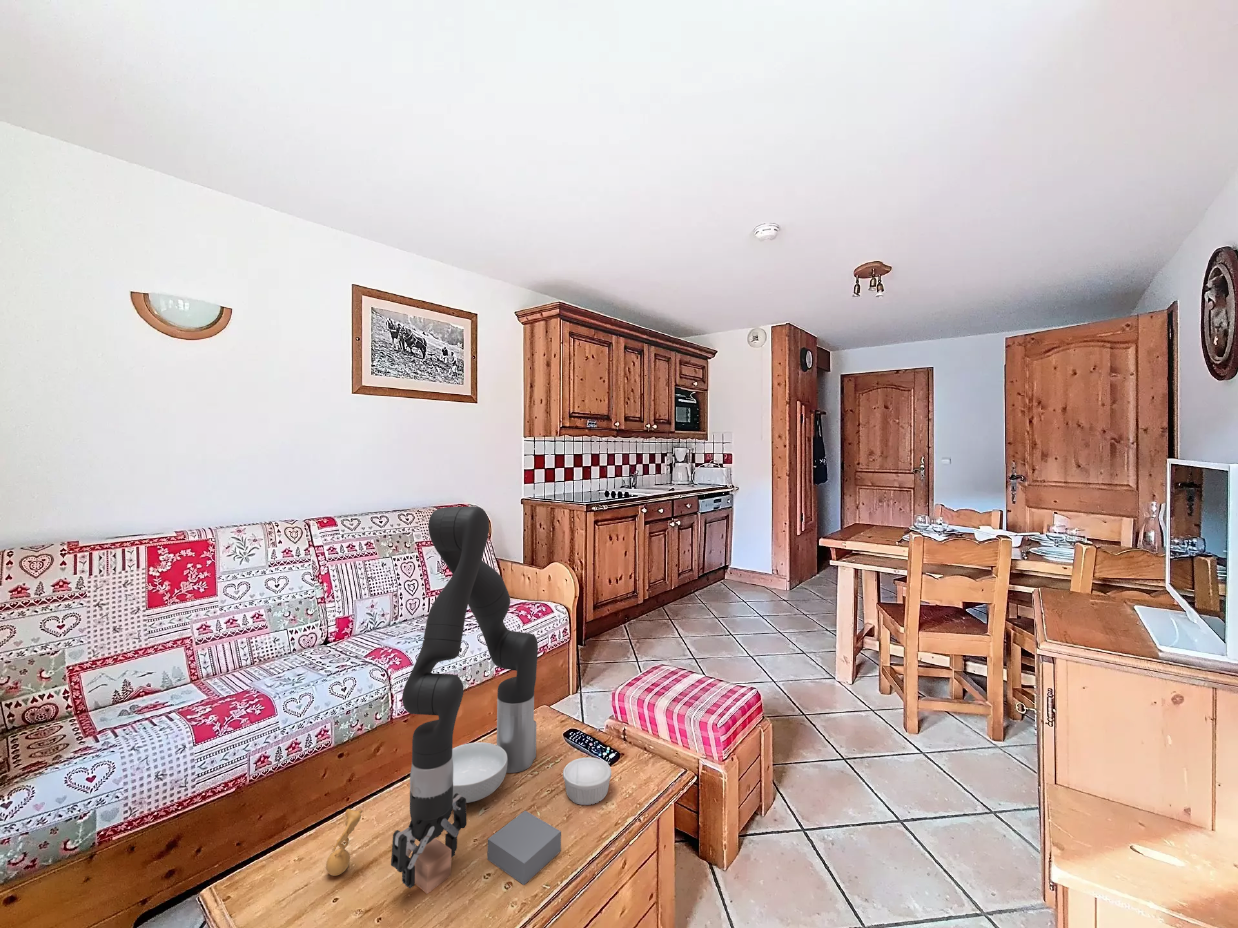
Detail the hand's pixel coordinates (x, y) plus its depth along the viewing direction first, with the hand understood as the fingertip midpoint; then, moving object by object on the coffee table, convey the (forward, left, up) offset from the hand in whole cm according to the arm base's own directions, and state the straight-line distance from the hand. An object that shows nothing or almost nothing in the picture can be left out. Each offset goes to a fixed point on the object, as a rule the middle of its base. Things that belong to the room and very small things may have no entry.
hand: (430, 869), depth 94 cm
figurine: (+9, -14, -2) cm, 17 cm away
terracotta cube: (0, 0, -2) cm, 2 cm away
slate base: (-14, +10, -2) cm, 17 cm away
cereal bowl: (-20, -14, -2) cm, 25 cm away
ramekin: (-36, +8, -2) cm, 37 cm away
